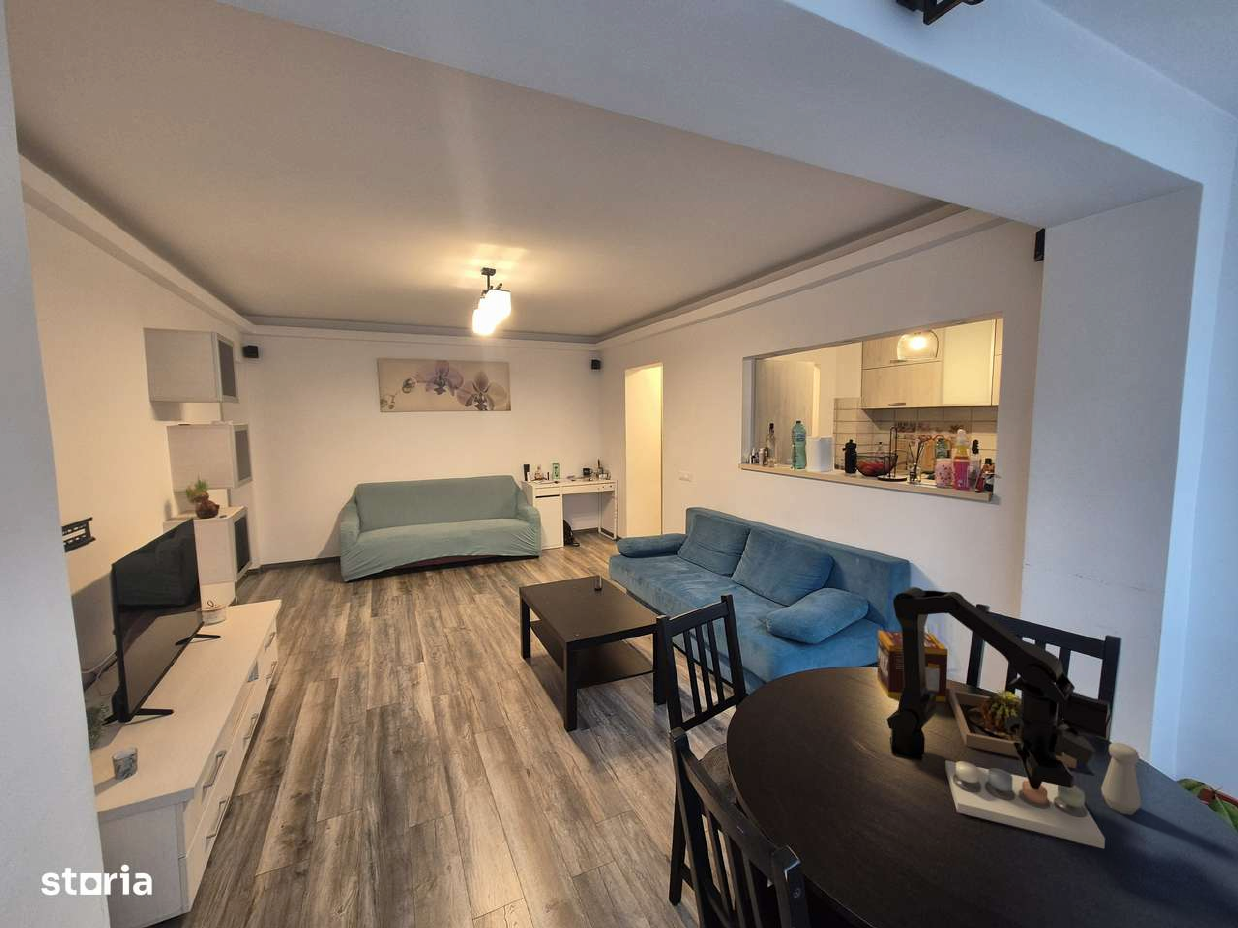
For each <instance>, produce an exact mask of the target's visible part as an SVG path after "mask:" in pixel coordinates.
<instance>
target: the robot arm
mask: <svg viewBox="0 0 1238 928" xmlns="http://www.w3.org/2000/svg"><path fill="white" fill-rule="evenodd" d="M892 606H893V611H894V615H895V618H896V620H897V621H898V624H899V625H900V628H901V632H902V649H903V673H904V688H903V691H902V694H901V697H900V698H898V699H899V700H898V706H897V709H896V710H895V711H893V712H892V713H891V715H889V716H888V717H887V718H886V722H887V725H888V728H889V729H890V737H889V744H890V752H891V754H892V755H895V756H899V757H904V758H908V759H913V760H918V761H923V760H924V757H923V755H924V754H925V745H926V743H925V741H926V737H925V734H924V732H923V729H922V728H923V727H924V726H925V725H926V724H927V723H928V722H929V721H930V720H931V719H932V718H933V717H934V715H935V714H936V713H937V712H938V708H937V704H936V703H937V701H936V695H934V694H930V693H929V691H928V689H927V687H926V674H925V648H924V633H925V630H924V629H925V627H926V626H925V625H926V622H927V619H928V617H929V615H934V614H935V615H936V614H948V615H950V616H951V617H953V618H954V619H956V620H957V621H958V622H959V623H961V624H962V625H963V626H964V627H966V628H967V629H969V630H970V631H971V632H973V633H974V634H975V635H976V636H978V637H979V638H981V640H983V641H984V642H986V643H987V644H988V645H990V646H991V647H992V648H994V649H995V650H996V651H998V652H999V653H1000V654H1001V656H1003V657H1004V658H1005V660H1006V661H1007V663H1008V664H1009V665H1010V667H1011V669H1012V670H1014V672H1015V673H1017V675H1018V677H1016V678H1013V679H1012V680H1011V682H1010V683H1009V684H1008V686H1009V688H1011V689H1015V690H1018V691H1020V692H1021V694H1020V695H1021V697H1020V699H1021V701H1020V702H1021V710H1020V711H1017V716H1012V715H1011V716H1009V717H1007V718H1006V723H1005V726H1006V728H1007V730H1008V732H1009V733H1013V728H1017V729H1016V735H1017V738H1018V739H1019V740H1018V743H1017V742H1014V743H1013V744H1014V746H1015V749H1016V751H1017V754H1018V756H1019V757H1018V759H1019V761H1020V764H1021V766H1022V767H1023V770H1024V773H1025V776H1026V778H1028V781H1029V783H1030V786H1031V788H1033V789H1039V787H1040V785H1041V783H1042V782H1045V783H1050V784H1054V785H1059V786H1063V787H1068V788H1072V787H1073V785H1074V779H1075V777H1074V775H1073V774H1072V772H1071V771H1070V770H1069V767H1067V766H1066V765H1065V764H1064V763H1063V762H1062V761H1061V760H1058V759H1057V758H1056V756H1055V755H1058V756H1062V752H1063V753H1064V754H1066V755H1068V756H1070V757H1072V758H1075V759H1077V761H1079V762H1080V763H1081V764H1083V765H1085V766H1086V765H1088V764H1089V763H1090V761H1091V759H1092V758H1093V756H1094V755H1095V753H1096V750H1095V749H1094V747H1093V746H1092V745H1091V743H1090V742H1089V741H1088V740H1087V739H1086V738H1085V737H1084V736H1083V735H1080V732H1082V733H1085V734H1088V735H1091V736H1095V737H1097V738H1100V739H1103V740H1106V741H1107V740H1109V736H1110V732H1111V726H1112V725H1111V724H1112V714H1111V708H1110V702H1109V701H1107V700H1104V699H1102V698H1101V699H1100V698H1095V697H1091V696H1087V695H1084V694H1082V693H1077V692H1075V689H1076V687H1075V685H1074V684H1073V683H1072V681H1071V680H1070V679H1069V677H1068V676H1067V674H1065V672H1064V671H1063V664H1062V662H1061V660H1060V659H1059V658H1058V657H1057V656H1056V655H1055V654H1054V653H1051V652H1050V651H1048V650H1046V649H1044V648H1042V647H1040V646H1038V645H1037V644H1035V643H1032V642H1030V641H1026V640H1023V639H1022V638H1020V637H1018V636H1016V635H1015V634H1014V633H1012V632H1011V631H1010V630H1008V629H1007V628H1005V627H1004V626H1002V624H1000V623H998V622H997V621H995V619H993V618H992V617H990V616H989V615H988V614H986V613H985V612H983V611H982V610H981V609H979V608H978V607H976V605H974V604H972V603H971V602H969V601H968V600H967V599H966V598H964V596H963V595H962V594H960V593H959V592H956V591H941V590H923V589H921V588H920V587H916V586H912V587H909V588H906V589H904V590H903V591H901V592H899V593H898V594H896V595H895V596H894V597H893V600H892ZM1059 704H1060V712H1059ZM1058 713H1059V716H1060V719H1062V723H1063V724H1060V725H1058ZM1018 729H1019V730H1018ZM1079 731H1080V732H1079Z"/></svg>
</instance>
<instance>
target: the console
mask: <svg viewBox="0 0 1238 928" xmlns="http://www.w3.org/2000/svg"><path fill="white" fill-rule="evenodd" d="M956 763H957V761H956V762H955V761H953V760H952V761H950V760H946V759H945V761H944V770H945V774H946V776H947V780H948V785H949V787H950V792H951V794H952V798H953V802H954V805H955V809H956V813H959V814H965V815H968V816H971V817H977V818H980V819H983V820H988V821H991V822H996V823H1000V824H1005V825H1008V826H1012V827H1016V828H1020V829H1024V830H1028V831H1033V832H1037V833H1040V834H1044V835H1047V836H1048V835H1049V836H1052V837H1056V838H1060V839H1064V840H1068V841H1073V842H1075V843H1080V844H1084V845H1087V846H1088V845H1089V846H1092V847H1096V848H1100V849H1105V843H1106V839H1105V836H1104V835H1103V833H1102V832H1101V830H1100V828H1099V827H1098V825H1097V823H1096V822H1095V820H1094V819H1093V817H1092V815H1091V814H1090V812H1089V810H1088V809H1087V806H1086V805H1085V804H1084V806H1083V807H1075V806H1071V805H1069V804H1067V803H1065V802H1063V801H1062V800H1060V799H1059V797H1058V785H1054V784H1050V783H1045V782H1042V783H1041V785H1042V786H1043V787H1044V788H1046V790H1047V791H1048V794H1047V803H1046V804H1036V803H1033V802H1031V801H1029V800H1028V799H1026V798H1025V797H1024V796H1023V795H1022V783H1023V782H1024V781H1028V778H1027V776H1026V777H1024V776H1020V775H1016V774H1011V773H1009V774H1010V775H1011V776H1012V778H1013V780H1012V789H1011V790H1009V791H1005V790H1000V789H998V788H996V787H994V786H992V785H991V784H990V783H989V781H988V773H989V769H990V768H989V769H987V768H984V767H978V766H976V767H977V768H978V770H979V777H978V782H976V783H969V782H966V781H963V780H961V779H960V778H959V777H958V776H957V775H956Z"/></svg>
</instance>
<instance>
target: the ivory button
mask: <svg viewBox="0 0 1238 928" xmlns="http://www.w3.org/2000/svg"><path fill="white" fill-rule="evenodd" d="M977 767H978V766H976V765H974V764H973V763H970V762H968V761H964V760H959V761H956V775H957V776H958V777H959V778H960V779H961V780H963V781H966V782H969V783H976V782H978V777H979V770H978V768H977Z"/></svg>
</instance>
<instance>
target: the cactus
mask: <svg viewBox="0 0 1238 928" xmlns="http://www.w3.org/2000/svg"><path fill="white" fill-rule="evenodd" d="M995 694H996V696H992V695H990V696H989V697H988V698H987V697H986V699H987V700H984V702H983V703H980V704H981V707H977V706H976V707H973V708H970V710H968V712H967V717H968V719H969V720H970V721H971V722H972V723H973V724H975V725H976V726H978V727H982V728H983V729H984V730H985V731H988V732H990V733H993V734H994V735H996V736H999V737H1001V738H1002V739H1003V740H1008V741H1013V742H1018V740H1019V739H1018V738H1017V735H1016V729H1017V728H1013V733H1009V732H1008V730H1007V728H1006V726H1005V723H1006V718H1007V717H1009V716H1011V715H1012V716H1017V711H1020V710H1021V704H1020V702H1021V697H1020V696H1019V695H1018V694H1015V693H1014V694H1013V693H1012V692H1011V691H1004V690H1001V691H997V693H995ZM993 697H994V698H993ZM1019 704H1020V705H1019ZM1018 730H1019V729H1018Z"/></svg>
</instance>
